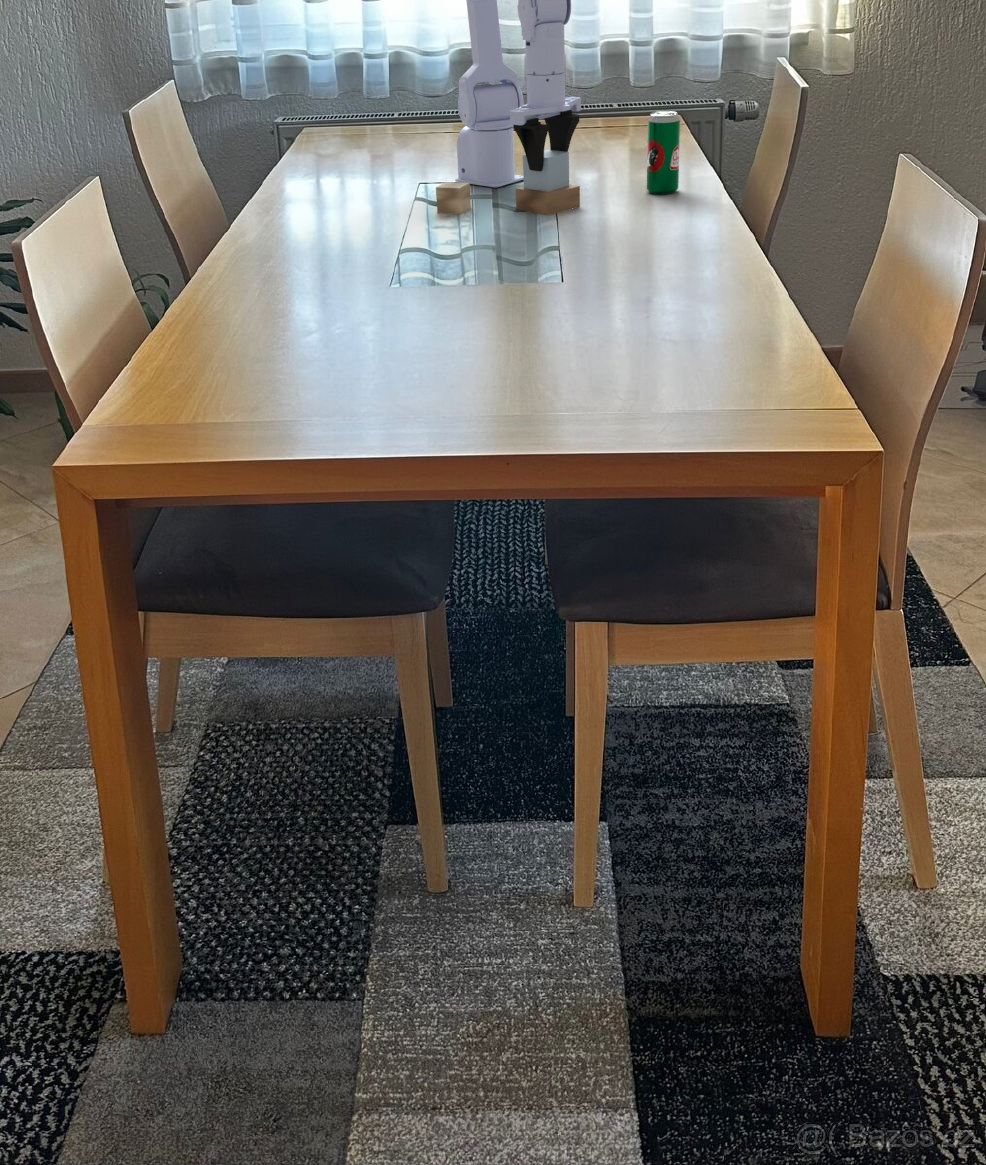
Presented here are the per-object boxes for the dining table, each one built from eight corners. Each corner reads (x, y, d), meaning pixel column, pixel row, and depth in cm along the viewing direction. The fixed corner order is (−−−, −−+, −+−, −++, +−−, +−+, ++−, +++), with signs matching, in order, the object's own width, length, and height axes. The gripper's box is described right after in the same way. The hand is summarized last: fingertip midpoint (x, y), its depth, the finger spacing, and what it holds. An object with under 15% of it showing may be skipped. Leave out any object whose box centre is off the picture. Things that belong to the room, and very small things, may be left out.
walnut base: (516, 211, 201) (515, 188, 199) (547, 202, 205) (547, 180, 203) (548, 217, 196) (548, 194, 195) (579, 208, 200) (579, 185, 199)
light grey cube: (523, 188, 199) (522, 154, 197) (544, 181, 202) (543, 148, 200) (548, 191, 196) (548, 157, 194) (569, 185, 199) (568, 152, 197)
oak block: (437, 213, 201) (435, 187, 199) (447, 207, 204) (445, 181, 202) (461, 214, 199) (459, 188, 197) (470, 208, 202) (469, 182, 200)
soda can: (677, 195, 204) (679, 115, 198) (645, 195, 205) (646, 116, 199) (679, 188, 208) (681, 110, 203) (648, 188, 209) (649, 110, 204)
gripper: (535, 80, 184) (537, 178, 190) (596, 67, 193) (597, 161, 200) (498, 77, 188) (501, 173, 195) (559, 65, 197) (561, 156, 204)
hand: (547, 167), depth 197 cm, fingers closed on light grey cube, 5 cm apart
